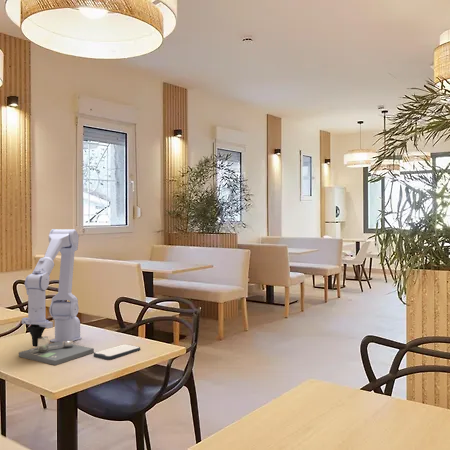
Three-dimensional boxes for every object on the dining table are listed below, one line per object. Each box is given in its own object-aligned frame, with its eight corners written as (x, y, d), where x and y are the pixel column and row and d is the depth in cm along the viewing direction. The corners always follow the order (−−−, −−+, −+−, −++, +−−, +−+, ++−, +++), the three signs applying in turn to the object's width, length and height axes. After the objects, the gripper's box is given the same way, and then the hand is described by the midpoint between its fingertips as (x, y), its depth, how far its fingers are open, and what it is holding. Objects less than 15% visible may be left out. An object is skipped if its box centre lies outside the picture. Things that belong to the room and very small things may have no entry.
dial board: (58, 345, 186) (58, 341, 186) (93, 352, 176) (93, 348, 176) (18, 356, 171) (18, 352, 171) (55, 365, 161) (55, 360, 161)
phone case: (124, 347, 185) (91, 357, 171) (124, 343, 185) (91, 352, 171) (142, 351, 180) (109, 361, 166) (142, 347, 180) (109, 356, 166)
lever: (70, 344, 180) (70, 331, 180) (74, 346, 178) (74, 333, 177) (30, 351, 171) (30, 338, 171) (33, 353, 168) (33, 340, 168)
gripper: (14, 307, 173) (14, 345, 173) (40, 311, 165) (40, 351, 166) (31, 304, 179) (31, 341, 179) (57, 308, 171) (57, 347, 172)
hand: (36, 346), depth 173 cm, fingers closed, pressing on lever
